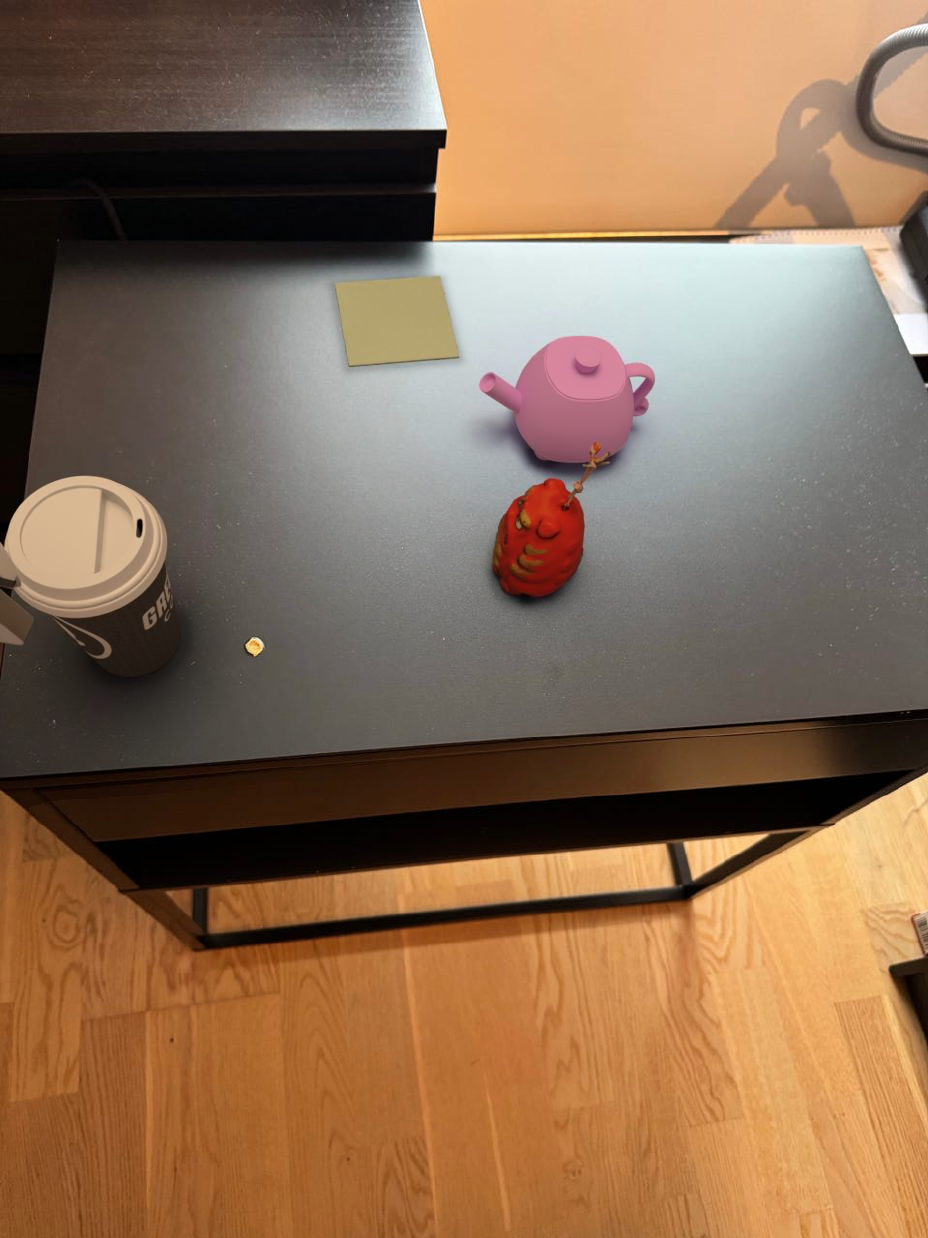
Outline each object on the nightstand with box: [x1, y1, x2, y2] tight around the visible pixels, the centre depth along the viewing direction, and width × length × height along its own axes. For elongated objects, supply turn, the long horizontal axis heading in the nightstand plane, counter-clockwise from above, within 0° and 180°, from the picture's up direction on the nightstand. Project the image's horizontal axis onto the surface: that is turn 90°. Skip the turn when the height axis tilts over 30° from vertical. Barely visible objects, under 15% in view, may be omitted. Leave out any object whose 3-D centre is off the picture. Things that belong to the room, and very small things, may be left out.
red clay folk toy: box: [491, 442, 611, 598], centre depth 66 cm, size 8×7×15 cm
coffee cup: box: [3, 475, 182, 678], centre depth 61 cm, size 10×10×15 cm
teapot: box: [478, 335, 656, 464], centre depth 75 cm, size 10×15×9 cm
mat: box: [334, 275, 460, 368], centre depth 83 cm, size 10×10×1 cm
